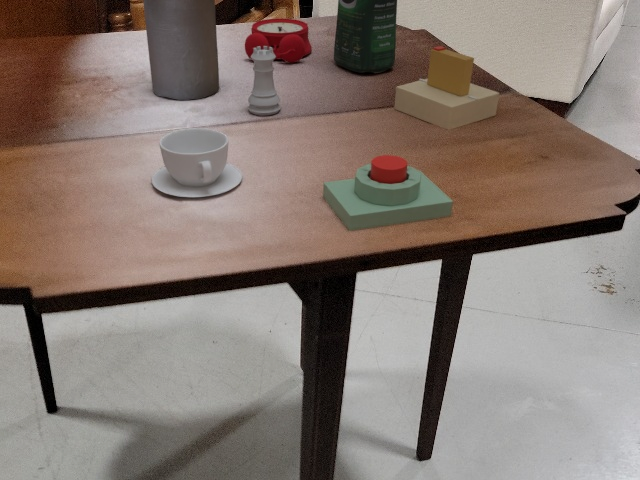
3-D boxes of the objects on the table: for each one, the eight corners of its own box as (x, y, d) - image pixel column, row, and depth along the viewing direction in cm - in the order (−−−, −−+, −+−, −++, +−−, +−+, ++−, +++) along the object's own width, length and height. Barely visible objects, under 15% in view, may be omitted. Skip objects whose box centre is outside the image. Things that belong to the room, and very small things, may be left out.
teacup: (143, 171, 83) (138, 130, 80) (226, 158, 86) (224, 118, 83) (164, 207, 76) (159, 165, 73) (254, 192, 79) (253, 150, 76)
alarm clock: (316, 19, 123) (305, 19, 109) (314, 59, 125) (303, 64, 112) (255, 17, 124) (237, 17, 111) (254, 57, 127) (237, 62, 113)
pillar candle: (212, 76, 111) (205, -35, 101) (225, 97, 103) (220, -21, 94) (147, 82, 109) (135, -31, 99) (157, 103, 101) (144, -16, 92)
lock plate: (496, 115, 97) (500, 91, 95) (448, 130, 93) (452, 106, 91) (440, 95, 103) (443, 72, 101) (393, 108, 99) (395, 85, 97)
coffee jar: (402, 70, 113) (416, -68, 101) (360, 78, 110) (369, -63, 98) (365, 54, 119) (374, -77, 108) (325, 62, 116) (329, -73, 105)
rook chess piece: (286, 107, 100) (286, 46, 95) (272, 118, 96) (271, 55, 92) (256, 103, 101) (255, 42, 96) (242, 113, 98) (239, 51, 93)
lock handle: (468, 94, 95) (474, 55, 92) (460, 96, 94) (465, 58, 91) (435, 82, 98) (439, 45, 96) (426, 84, 98) (431, 47, 95)
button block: (417, 184, 80) (421, 153, 78) (450, 216, 74) (455, 184, 72) (322, 197, 78) (323, 165, 76) (349, 231, 72) (351, 198, 70)
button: (397, 169, 76) (398, 153, 75) (411, 183, 73) (413, 166, 72) (364, 173, 75) (366, 157, 74) (378, 187, 72) (379, 171, 71)
